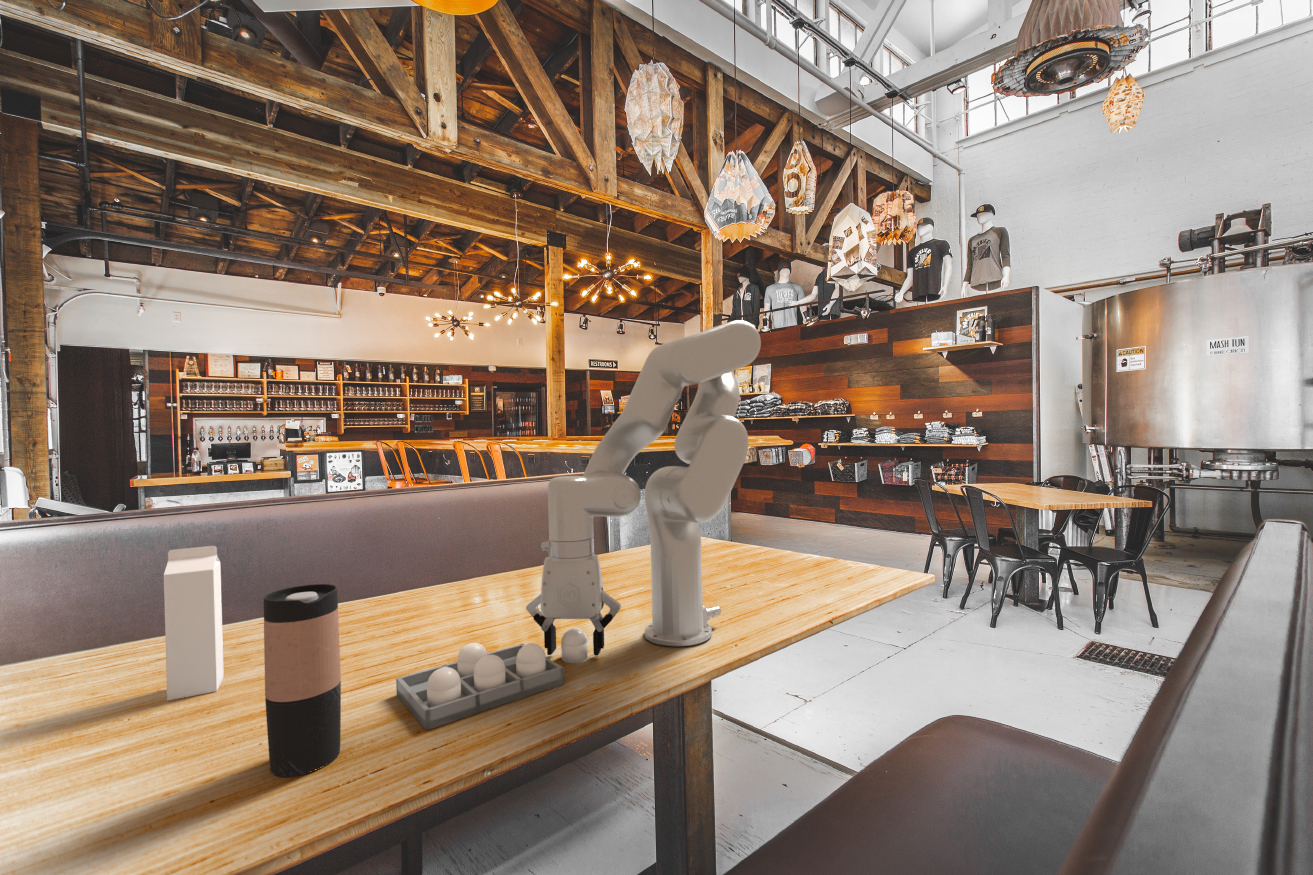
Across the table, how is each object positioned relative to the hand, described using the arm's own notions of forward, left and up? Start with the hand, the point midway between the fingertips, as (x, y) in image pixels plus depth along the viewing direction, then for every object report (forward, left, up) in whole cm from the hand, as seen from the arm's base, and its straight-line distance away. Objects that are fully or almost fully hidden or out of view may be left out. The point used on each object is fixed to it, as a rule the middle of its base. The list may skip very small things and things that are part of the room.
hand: (574, 651), depth 97 cm
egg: (0, 0, -1) cm, 1 cm away
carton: (+17, +1, -1) cm, 17 cm away
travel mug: (+40, +5, -1) cm, 40 cm away
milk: (+50, -30, -1) cm, 58 cm away
